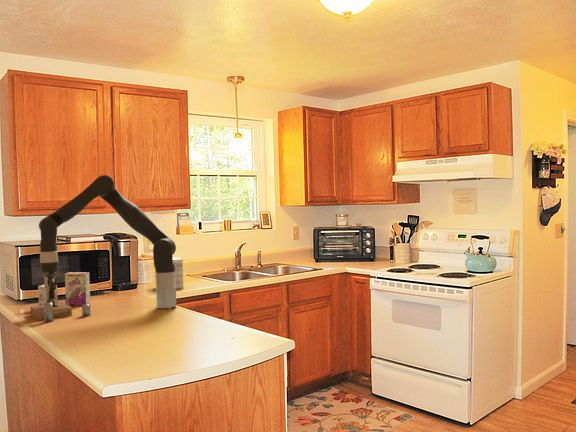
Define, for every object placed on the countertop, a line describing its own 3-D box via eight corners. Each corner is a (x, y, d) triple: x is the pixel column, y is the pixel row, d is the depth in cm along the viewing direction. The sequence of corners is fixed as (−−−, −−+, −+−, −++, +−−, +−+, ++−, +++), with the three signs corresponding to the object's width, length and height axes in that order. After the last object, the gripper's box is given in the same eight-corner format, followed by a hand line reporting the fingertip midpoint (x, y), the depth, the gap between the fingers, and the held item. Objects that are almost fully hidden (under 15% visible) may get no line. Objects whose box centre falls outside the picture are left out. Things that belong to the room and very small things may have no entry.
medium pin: (53, 321, 222) (53, 302, 222) (44, 322, 220) (44, 304, 220) (52, 320, 225) (51, 302, 225) (43, 321, 223) (42, 303, 223)
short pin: (91, 315, 232) (91, 304, 232) (83, 316, 230) (83, 305, 230) (89, 314, 235) (88, 303, 235) (81, 315, 233) (80, 304, 233)
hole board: (72, 315, 233) (71, 306, 233) (38, 320, 225) (38, 311, 224) (62, 310, 246) (62, 302, 246) (30, 315, 237) (30, 306, 237)
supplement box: (157, 287, 311) (156, 258, 310) (179, 285, 316) (178, 257, 316) (161, 290, 299) (160, 260, 298) (184, 288, 304) (183, 258, 304)
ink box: (38, 309, 251) (37, 285, 251) (47, 307, 255) (46, 283, 255) (49, 310, 247) (48, 286, 247) (58, 308, 251) (57, 284, 251)
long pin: (56, 307, 235) (55, 281, 235) (47, 308, 233) (46, 282, 232) (54, 306, 238) (53, 280, 237) (45, 307, 235) (44, 281, 235)
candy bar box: (65, 305, 258) (63, 273, 258) (70, 303, 263) (69, 272, 263) (86, 305, 257) (84, 273, 256) (90, 303, 262) (89, 271, 261)
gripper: (61, 261, 231) (63, 299, 232) (54, 259, 243) (55, 295, 243) (44, 263, 227) (45, 301, 227) (36, 260, 238) (38, 297, 238)
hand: (50, 298), depth 235 cm, fingers closed on long pin, 3 cm apart
